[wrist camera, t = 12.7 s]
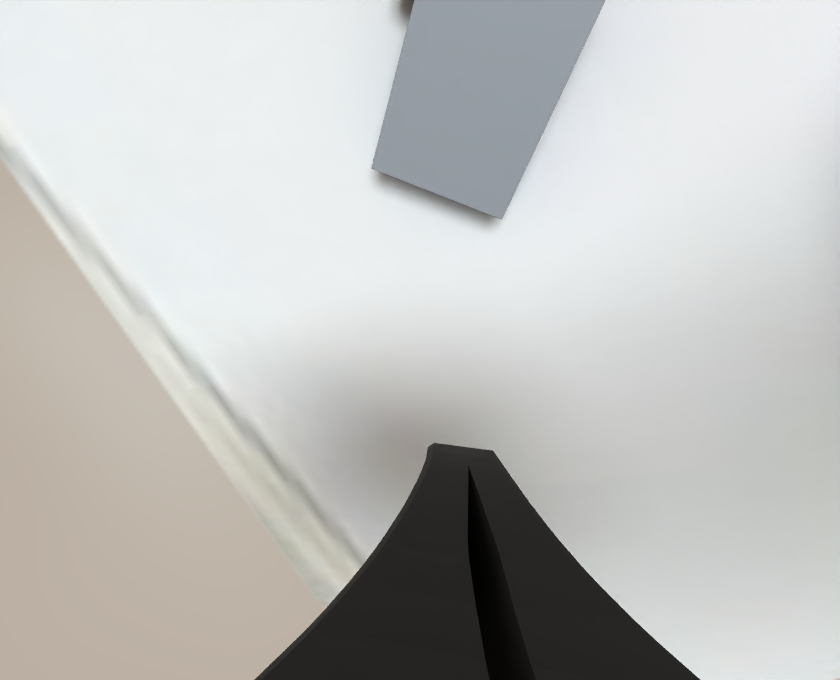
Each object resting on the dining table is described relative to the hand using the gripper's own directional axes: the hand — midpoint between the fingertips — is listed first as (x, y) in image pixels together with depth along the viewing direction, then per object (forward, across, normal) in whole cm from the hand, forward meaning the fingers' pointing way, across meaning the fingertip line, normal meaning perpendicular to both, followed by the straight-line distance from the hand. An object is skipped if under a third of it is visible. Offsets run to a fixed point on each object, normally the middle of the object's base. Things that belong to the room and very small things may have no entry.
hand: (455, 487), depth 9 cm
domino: (+10, +1, -6) cm, 11 cm away
